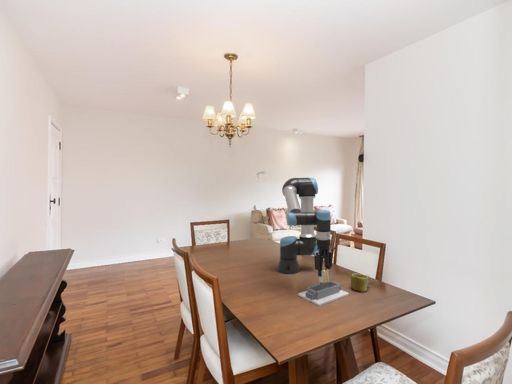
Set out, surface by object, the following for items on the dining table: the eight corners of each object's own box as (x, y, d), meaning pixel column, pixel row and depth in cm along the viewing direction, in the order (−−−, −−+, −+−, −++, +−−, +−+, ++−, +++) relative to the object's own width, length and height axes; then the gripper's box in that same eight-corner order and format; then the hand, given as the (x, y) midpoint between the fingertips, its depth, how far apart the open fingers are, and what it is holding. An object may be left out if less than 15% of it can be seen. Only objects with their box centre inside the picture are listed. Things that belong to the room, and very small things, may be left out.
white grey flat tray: (298, 295, 153) (298, 286, 153) (327, 285, 166) (327, 277, 166) (319, 306, 140) (319, 296, 140) (349, 295, 153) (349, 286, 152)
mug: (357, 291, 153) (357, 272, 156) (346, 290, 162) (346, 272, 165) (376, 293, 155) (376, 274, 158) (365, 292, 165) (365, 274, 168)
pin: (318, 284, 153) (318, 269, 153) (323, 282, 155) (323, 268, 155) (324, 286, 149) (324, 271, 149) (329, 284, 152) (329, 270, 151)
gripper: (317, 242, 144) (317, 286, 145) (339, 237, 153) (339, 280, 154) (307, 239, 150) (307, 282, 151) (328, 235, 159) (328, 276, 160)
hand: (323, 281), depth 152 cm, fingers closed on pin, 3 cm apart
